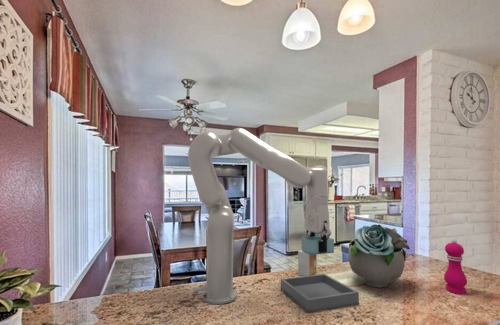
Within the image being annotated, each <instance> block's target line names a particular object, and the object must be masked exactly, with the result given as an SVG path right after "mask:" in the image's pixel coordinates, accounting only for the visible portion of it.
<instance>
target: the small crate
mask: <svg viewBox="0 0 500 325" xmlns="http://www.w3.org/2000/svg"><path fill="white" fill-rule="evenodd" d="M322 237H323V235H322ZM319 241H320V239H319V235H317V236H316V235H315V236H313V237H308V236H303V237H301V250H302V251H303V252H305V253H307V254H309V255H316V256H317V255H324V254H325V255H326V254H334V253H335V239H334V238H333V237H331V236H329V238H328V241H327V252H325V253H319Z"/></svg>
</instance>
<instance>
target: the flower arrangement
mask: <svg viewBox="0 0 500 325" xmlns="http://www.w3.org/2000/svg"><path fill="white" fill-rule="evenodd" d="M405 249H406V250H410V249H411V247H410V245H409V244H408V240H406V239H405V238H404V237H403V236H402V235H401V234H400V233H398V231H397V229H396V227H395V228H390V227H387V226H386V227H385V226H384V225H382V224H371V225H367V226H366V225H363V226H362V227H360V228H357V229H356V230H355V233H354V236H353V237H352V239H351V240H350V242H349V244H348V252H347V253H348V254H347V255H348V257H347V258H348V262H349V263H348V264H349V266H350V269H351V271H352V272H353V273H354V274H355V275H357V276H358V277H359V278H361V279H363V281H364V283H365V284H366V285H368V286H370V287H372V288H373V287H375V288H385V287H387V286H388V284H389V283H391V282H395V281H396V280H398V279H400V278H401V277H402V275H403V272H404V269H405V262H406V259H407V258H406V257H407V256H406V255H407V252H406V250H405Z"/></svg>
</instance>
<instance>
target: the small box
mask: <svg viewBox="0 0 500 325" xmlns="http://www.w3.org/2000/svg"><path fill="white" fill-rule="evenodd" d="M297 258H298V259H297V260H298V261H297V266H298V267H297V269H298V270H297V273H298V275H299V276H310V275H316V273H317V254H316V255H309V254H307V253H305V252H303V251H302V249H300V250H298V251H297Z"/></svg>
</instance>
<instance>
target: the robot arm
mask: <svg viewBox="0 0 500 325" xmlns="http://www.w3.org/2000/svg"><path fill="white" fill-rule="evenodd" d="M233 154H240V155H241V156H243V157H244V158H246V159H248V160H250V161H251V162H253V163H254V164H255V165H257V166H258V167H260V168H263V169H265V170H268V171H271V172H272V173H274V174H276V175H277V176H279V177H281V178H282V179H284V180H285V182H286V183H287V185H289V186H290V187H292V188H300V189H302V188H305V187H306V205H305V211H304V229H305V230H306V233H307V237H313V236H316V235H317V234H318V235H317V236H319V239H320V241H319V253H325V252H327V241H328V238H329V237H331V235H332V231H331V228H330V211H329V206H328V205H329V204H328V203H329V202H328V201H329V199H328V198H329V196H328V193H329V192H328V170H327V169H326V168H323V167H310V168H307V167H305V166H304V165H302V164H301V163H300V162H298V161H296V160H295V159H294V158H292V157H290V156H288V155H287V154H285V153H283V152H281V151H279V150H278V149H276V148H274V147H273V146H271V145H269V144H267V143H266V142H265V141H264V140H261V139H260V138H259V137H257V136H256V135H254V134H252V133H251V132H249V131H248V130H246V129H245V128H242V127H236V128H234V129H232V130H231V131H230V133H224V134H219V135H216V134H215V133H214V132H211V131H204V132H201V133H199V134H198V135H196V137H195V138H193V140H192V141H191V144H190V145H189V148H188V153H187V158H188V160H187V161H188V165H189V169H190V172H191V175H192V179H193V182H194V184H195V188H196V191H197V194H198V199H199V200H200V202H201V203H202V204H203V205H204V206H205V209H206V212H207V214H208V217H207V220H206V282H204V285H201V286H199V287H198V286H197V287H195V286H194V287H193V288H192V293H193V294H197V295H198V296H201V299H202V300H203V302H206V303H208V304H213V305H223V304H229V303H232V302H233V301H234V300H236V299H237V297H238V293H237V291H236V290H235V289H234V229H235V228H234V226H235V223H234V222H235V216H234V212H233V208H232V206H231V203H230V200H229V197H228V195H227V192H226V189H225V187H224V185H223V184H222V183H221V182H220V180H219V178H218V175H217V171H216V168H215V166H214V163H213V159H212V158H216V157H223V156H229V155H233ZM322 236H323V237H322Z"/></svg>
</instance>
